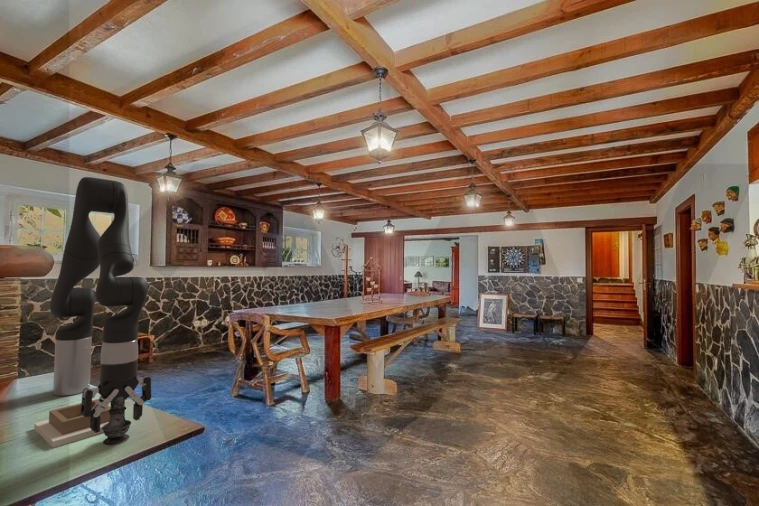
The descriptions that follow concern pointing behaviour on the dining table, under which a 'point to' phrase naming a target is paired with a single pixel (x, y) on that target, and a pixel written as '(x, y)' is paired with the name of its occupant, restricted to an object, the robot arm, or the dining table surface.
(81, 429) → the shaker stand
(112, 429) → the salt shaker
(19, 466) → the dining table surface
